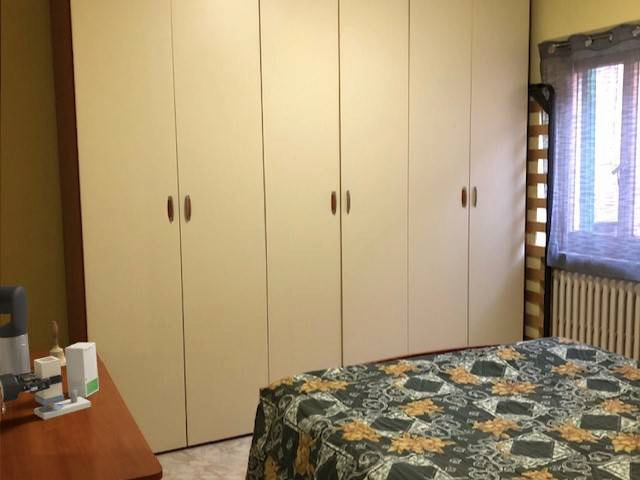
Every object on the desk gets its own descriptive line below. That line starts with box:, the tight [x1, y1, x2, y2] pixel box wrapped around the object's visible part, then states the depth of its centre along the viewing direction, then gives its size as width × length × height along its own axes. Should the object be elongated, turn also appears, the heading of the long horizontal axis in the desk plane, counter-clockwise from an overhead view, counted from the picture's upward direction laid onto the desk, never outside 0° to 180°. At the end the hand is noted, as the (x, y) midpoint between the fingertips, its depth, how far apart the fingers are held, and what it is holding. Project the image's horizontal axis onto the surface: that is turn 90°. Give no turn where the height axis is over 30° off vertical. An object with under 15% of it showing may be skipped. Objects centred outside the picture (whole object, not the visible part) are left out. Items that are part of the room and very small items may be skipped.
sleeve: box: [33, 355, 65, 406], centre depth 206 cm, size 6×6×12 cm
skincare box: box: [64, 342, 100, 399], centre depth 223 cm, size 8×7×16 cm
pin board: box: [33, 390, 92, 420], centre depth 209 cm, size 14×7×5 cm, turn 134°
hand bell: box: [48, 320, 66, 368], centre depth 257 cm, size 8×8×16 cm
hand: (56, 376), depth 207 cm, fingers closed on sleeve, 5 cm apart
